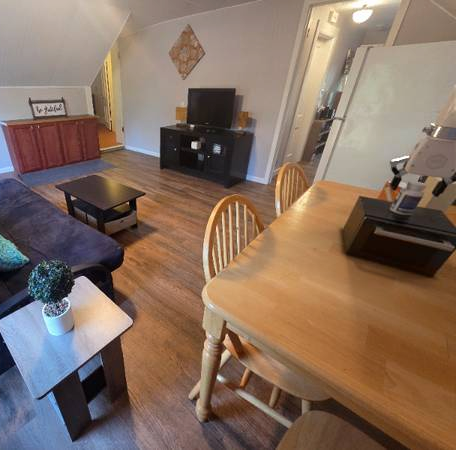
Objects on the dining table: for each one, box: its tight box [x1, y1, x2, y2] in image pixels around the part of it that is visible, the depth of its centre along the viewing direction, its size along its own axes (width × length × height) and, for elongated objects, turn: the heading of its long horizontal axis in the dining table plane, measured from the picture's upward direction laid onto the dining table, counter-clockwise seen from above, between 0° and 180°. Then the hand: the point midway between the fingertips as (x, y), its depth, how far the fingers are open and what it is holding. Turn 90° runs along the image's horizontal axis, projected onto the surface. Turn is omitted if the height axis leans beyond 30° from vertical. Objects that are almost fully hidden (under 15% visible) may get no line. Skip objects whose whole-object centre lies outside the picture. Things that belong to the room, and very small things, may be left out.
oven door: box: [344, 216, 456, 278], centre depth 74 cm, size 6×22×15 cm, turn 60°
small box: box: [376, 180, 408, 202], centre depth 107 cm, size 8×6×13 cm
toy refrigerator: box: [417, 176, 456, 215], centre depth 92 cm, size 8×7×21 cm
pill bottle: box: [390, 180, 426, 215], centre depth 76 cm, size 5×5×10 cm
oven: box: [342, 195, 456, 252], centre depth 82 cm, size 16×22×15 cm
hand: (413, 191), depth 75 cm, fingers open, 9 cm apart
